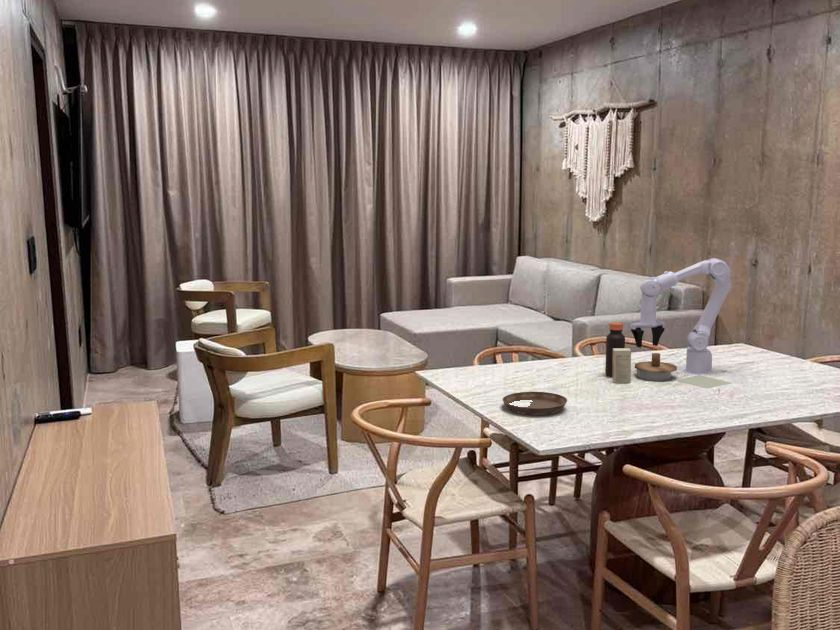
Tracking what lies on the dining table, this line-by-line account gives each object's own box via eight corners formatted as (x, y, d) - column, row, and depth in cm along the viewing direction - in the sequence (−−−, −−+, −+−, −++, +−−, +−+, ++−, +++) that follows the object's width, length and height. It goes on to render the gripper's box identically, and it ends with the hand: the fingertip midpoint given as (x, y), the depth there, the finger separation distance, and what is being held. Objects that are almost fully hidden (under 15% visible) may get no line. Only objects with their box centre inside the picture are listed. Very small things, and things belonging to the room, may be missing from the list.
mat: (699, 376, 293) (699, 375, 293) (732, 384, 281) (732, 382, 281) (674, 381, 285) (674, 380, 285) (707, 389, 274) (707, 388, 273)
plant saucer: (489, 410, 251) (489, 400, 251) (524, 397, 267) (525, 387, 266) (545, 422, 238) (545, 411, 238) (578, 407, 254) (579, 397, 253)
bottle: (627, 376, 293) (629, 324, 290) (612, 378, 291) (614, 325, 288) (616, 372, 300) (618, 321, 296) (601, 374, 297) (603, 322, 294)
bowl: (652, 373, 299) (652, 362, 298) (677, 379, 289) (678, 368, 288) (630, 377, 293) (630, 366, 292) (655, 383, 283) (655, 372, 282)
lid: (664, 362, 299) (665, 349, 298) (684, 371, 284) (685, 357, 283) (627, 364, 296) (628, 350, 295) (646, 373, 281) (646, 359, 280)
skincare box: (629, 380, 288) (630, 348, 286) (630, 383, 284) (632, 350, 282) (611, 380, 288) (612, 347, 286) (612, 383, 284) (614, 350, 282)
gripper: (639, 314, 291) (637, 349, 294) (670, 311, 297) (669, 346, 299) (627, 311, 298) (626, 346, 300) (658, 309, 303) (657, 343, 305)
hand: (647, 346), depth 300 cm, fingers open, 7 cm apart
